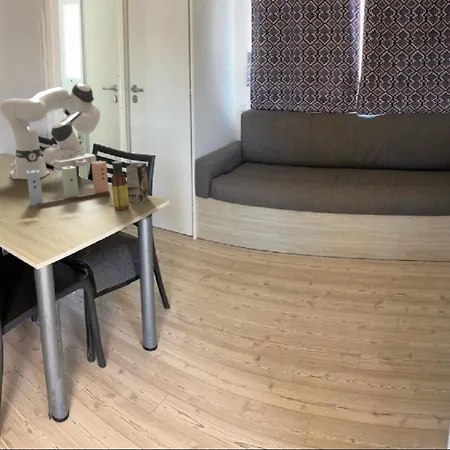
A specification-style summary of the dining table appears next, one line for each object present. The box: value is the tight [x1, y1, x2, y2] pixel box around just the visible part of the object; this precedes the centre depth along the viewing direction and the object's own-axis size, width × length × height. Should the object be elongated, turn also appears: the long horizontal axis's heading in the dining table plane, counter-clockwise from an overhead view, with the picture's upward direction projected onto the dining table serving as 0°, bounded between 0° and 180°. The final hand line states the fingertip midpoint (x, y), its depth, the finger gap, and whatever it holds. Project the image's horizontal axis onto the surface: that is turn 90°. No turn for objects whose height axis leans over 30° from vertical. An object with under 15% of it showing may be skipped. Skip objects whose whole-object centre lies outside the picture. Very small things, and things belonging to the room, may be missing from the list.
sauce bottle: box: [110, 160, 130, 211], centre depth 227 cm, size 6×6×20 cm
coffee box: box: [125, 162, 149, 205], centre depth 238 cm, size 9×6×16 cm
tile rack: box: [36, 190, 111, 209], centre depth 241 cm, size 14×35×3 cm, turn 126°
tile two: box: [26, 170, 44, 207], centre depth 230 cm, size 4×5×14 cm
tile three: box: [91, 160, 110, 194], centre depth 246 cm, size 4×5×14 cm
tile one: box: [60, 166, 80, 199], centre depth 237 cm, size 4×5×14 cm
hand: (85, 163), depth 249 cm, fingers closed
